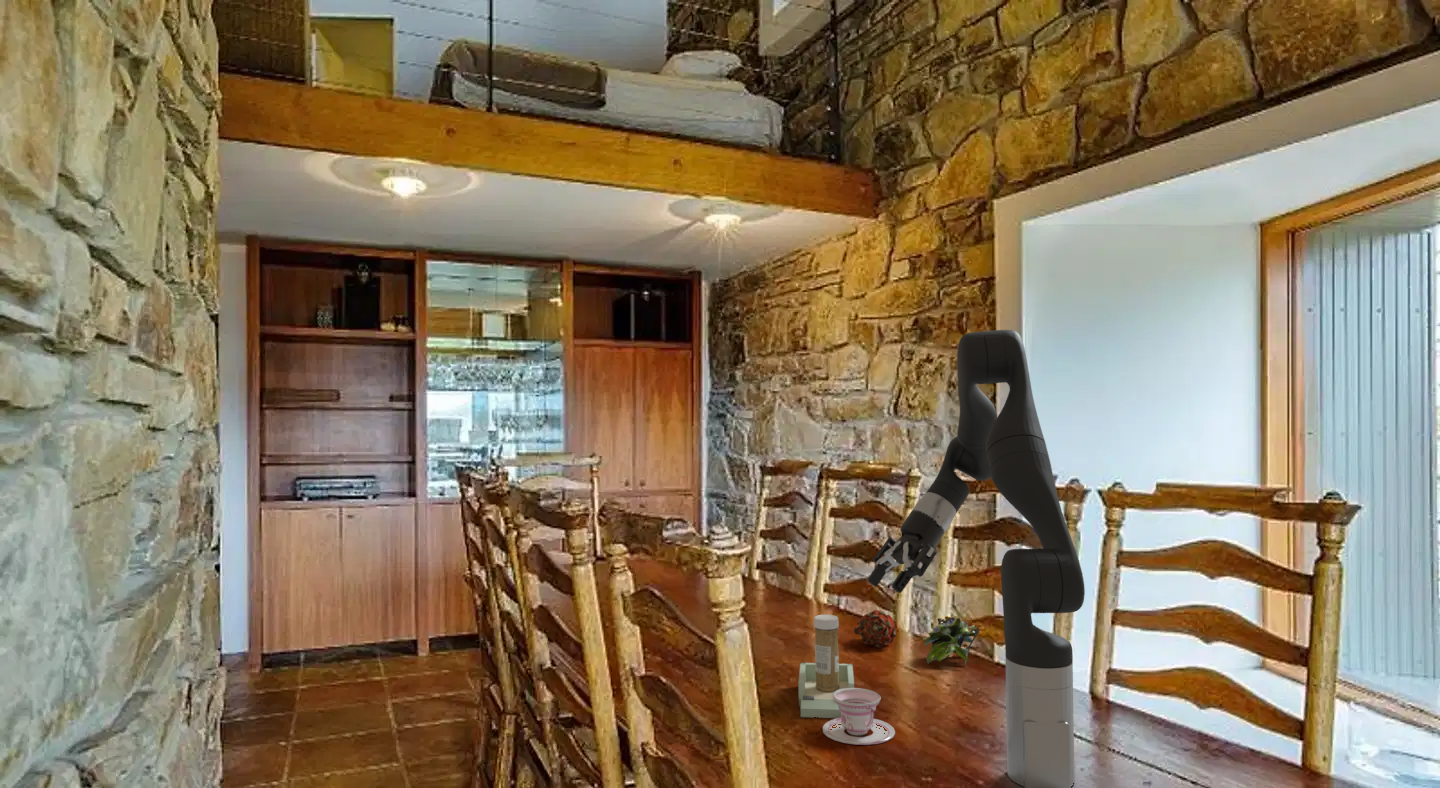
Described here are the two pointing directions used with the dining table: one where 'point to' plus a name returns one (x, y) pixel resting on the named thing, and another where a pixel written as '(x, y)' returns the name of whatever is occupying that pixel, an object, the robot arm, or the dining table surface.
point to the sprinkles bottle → (826, 652)
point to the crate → (821, 692)
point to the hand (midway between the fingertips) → (883, 586)
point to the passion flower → (950, 639)
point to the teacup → (857, 718)
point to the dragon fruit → (876, 629)
